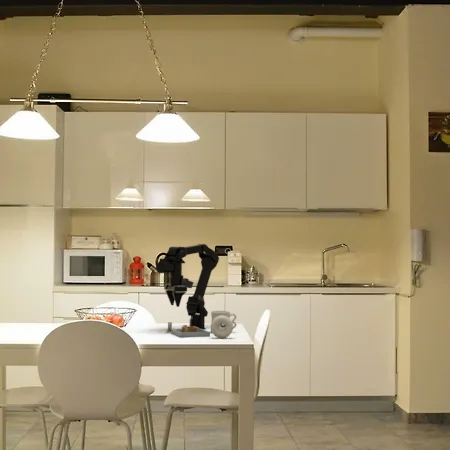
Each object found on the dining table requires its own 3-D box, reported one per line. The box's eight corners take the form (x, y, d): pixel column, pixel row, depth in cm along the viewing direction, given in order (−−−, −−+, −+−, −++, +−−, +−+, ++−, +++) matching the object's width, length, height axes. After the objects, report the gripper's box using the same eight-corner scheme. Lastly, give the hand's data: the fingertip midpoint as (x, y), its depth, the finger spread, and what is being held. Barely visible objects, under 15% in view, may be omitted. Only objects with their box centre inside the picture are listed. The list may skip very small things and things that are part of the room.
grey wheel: (233, 338, 295) (233, 315, 295) (232, 339, 291) (233, 316, 292) (210, 337, 295) (211, 314, 296) (210, 338, 292) (210, 315, 292)
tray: (200, 332, 312) (200, 328, 312) (210, 336, 299) (210, 331, 299) (171, 333, 307) (171, 329, 307) (180, 337, 294) (180, 332, 294)
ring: (181, 333, 305) (181, 324, 305) (194, 332, 307) (194, 324, 307) (185, 335, 299) (185, 326, 299) (199, 334, 301) (199, 325, 301)
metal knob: (171, 331, 315) (172, 322, 315) (173, 332, 312) (173, 322, 312) (165, 331, 314) (165, 322, 314) (167, 332, 311) (167, 322, 311)
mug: (212, 334, 308) (213, 312, 308) (208, 331, 317) (209, 310, 317) (238, 333, 311) (239, 312, 311) (234, 331, 320) (234, 310, 320)
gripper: (198, 273, 311) (197, 307, 310) (186, 272, 329) (185, 304, 328) (175, 273, 307) (174, 307, 307) (164, 272, 325) (163, 304, 324)
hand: (175, 305), depth 316 cm, fingers open, 9 cm apart
